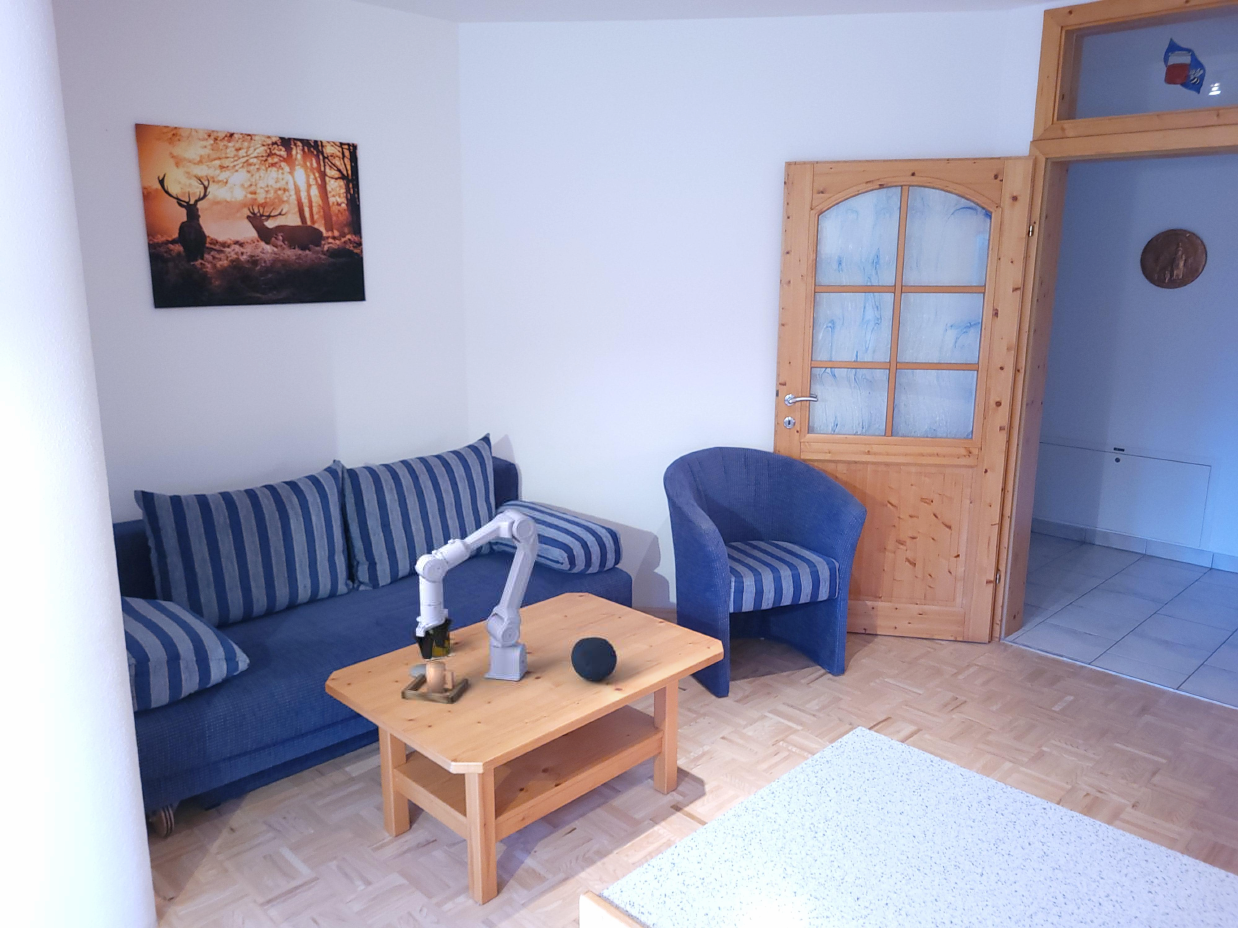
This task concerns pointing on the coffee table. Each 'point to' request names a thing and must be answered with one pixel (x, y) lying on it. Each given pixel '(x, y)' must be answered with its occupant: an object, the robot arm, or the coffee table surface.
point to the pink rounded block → (438, 677)
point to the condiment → (440, 651)
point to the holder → (432, 697)
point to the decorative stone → (593, 658)
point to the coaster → (418, 670)
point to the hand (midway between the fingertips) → (433, 652)
